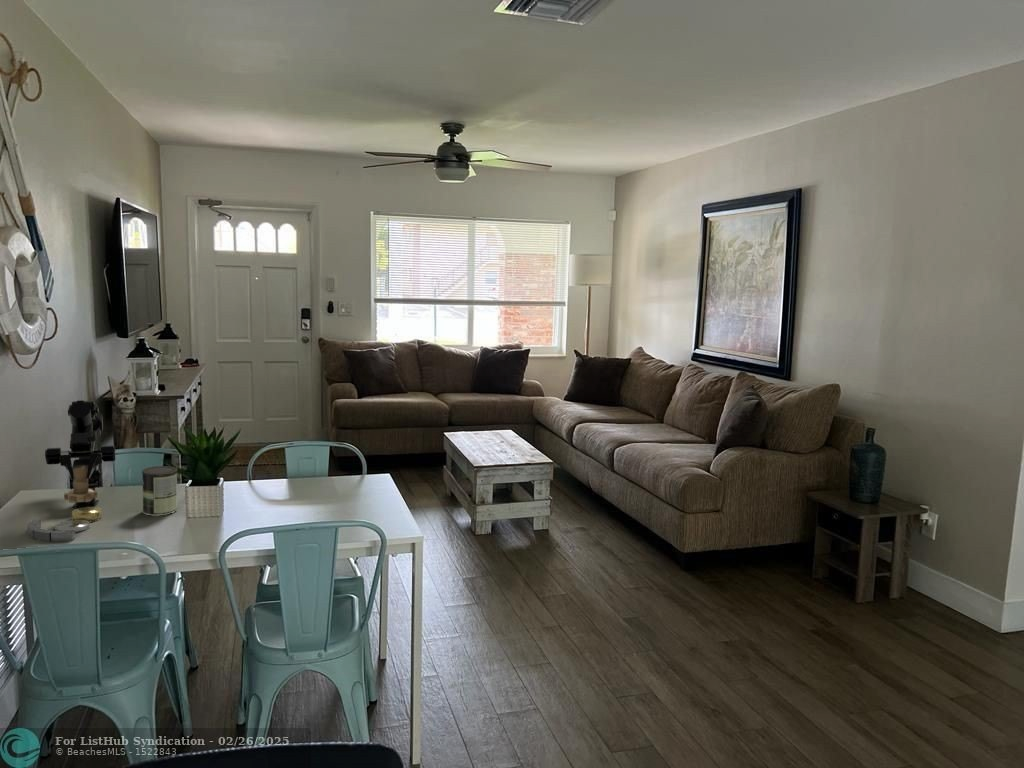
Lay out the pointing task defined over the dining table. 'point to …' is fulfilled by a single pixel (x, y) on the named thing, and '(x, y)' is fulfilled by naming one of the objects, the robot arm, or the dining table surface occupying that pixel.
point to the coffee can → (159, 490)
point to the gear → (80, 487)
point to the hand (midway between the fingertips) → (80, 478)
